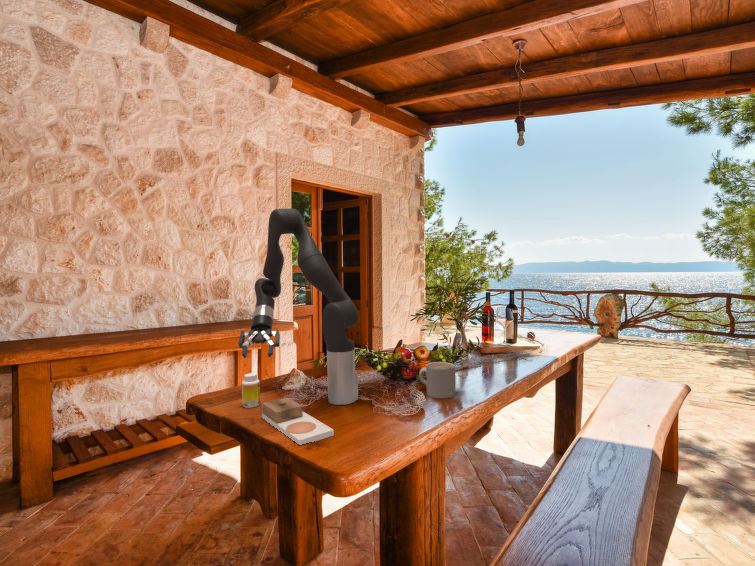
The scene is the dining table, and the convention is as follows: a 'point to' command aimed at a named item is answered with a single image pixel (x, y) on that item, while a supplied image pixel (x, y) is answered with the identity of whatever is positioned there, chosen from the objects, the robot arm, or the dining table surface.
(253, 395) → the supplement bottle
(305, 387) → the dining table surface
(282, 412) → the cover
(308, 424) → the board
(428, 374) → the coffee mug
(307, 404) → the dining table surface
